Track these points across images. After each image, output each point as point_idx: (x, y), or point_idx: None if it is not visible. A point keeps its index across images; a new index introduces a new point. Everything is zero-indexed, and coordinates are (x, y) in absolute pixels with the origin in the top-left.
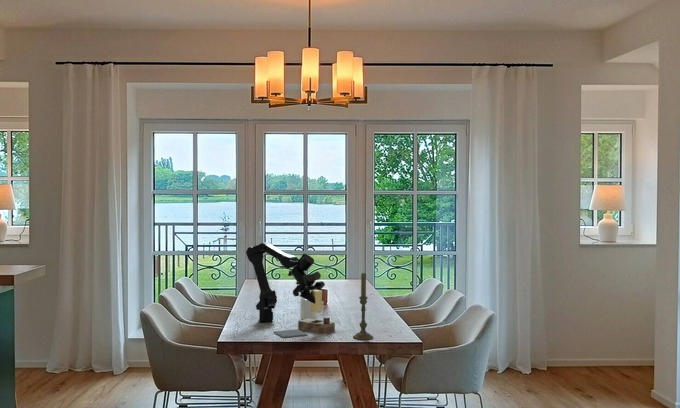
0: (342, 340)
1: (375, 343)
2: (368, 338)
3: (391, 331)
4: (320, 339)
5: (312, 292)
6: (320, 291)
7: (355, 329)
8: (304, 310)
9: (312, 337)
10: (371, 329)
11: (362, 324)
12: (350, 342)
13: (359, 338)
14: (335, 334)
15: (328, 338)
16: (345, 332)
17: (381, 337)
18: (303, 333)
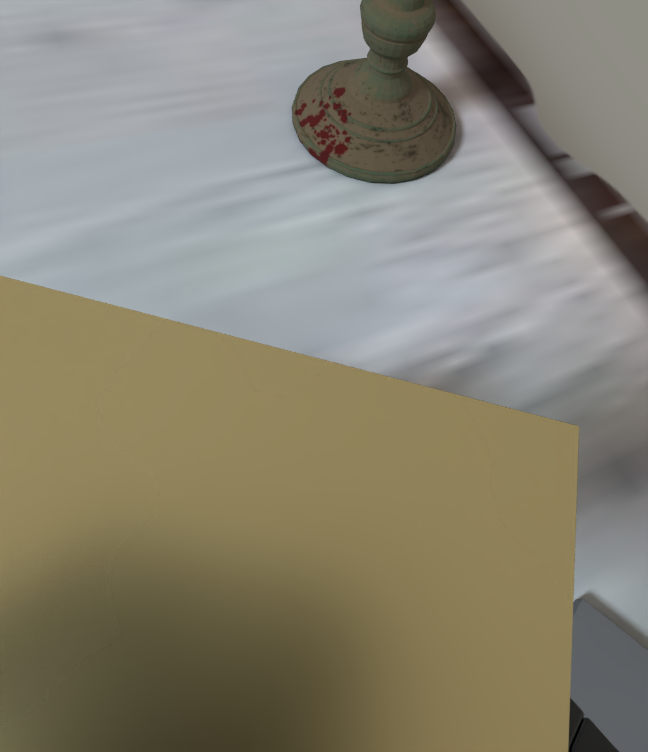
0: (542, 225)
1: (488, 36)
2: (418, 74)
3: (57, 6)
4: (629, 397)
5: (527, 718)
6: (79, 318)
7: (55, 245)
8: None
9: (611, 504)
10: (15, 130)
11: (433, 7)
12: (562, 163)
13: (454, 121)
14: (363, 344)
15: (550, 346)
16: (233, 289)
17: (297, 32)
18: (578, 670)
